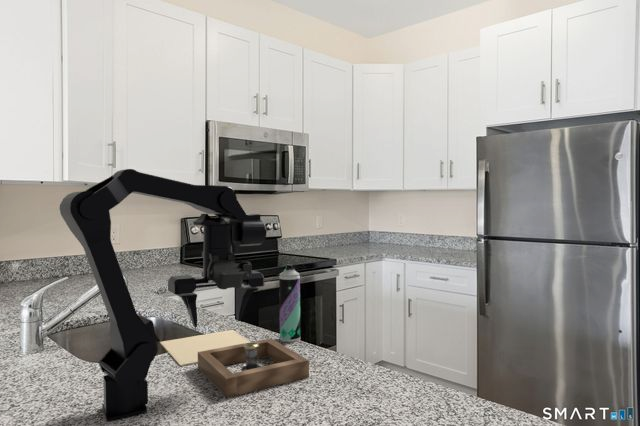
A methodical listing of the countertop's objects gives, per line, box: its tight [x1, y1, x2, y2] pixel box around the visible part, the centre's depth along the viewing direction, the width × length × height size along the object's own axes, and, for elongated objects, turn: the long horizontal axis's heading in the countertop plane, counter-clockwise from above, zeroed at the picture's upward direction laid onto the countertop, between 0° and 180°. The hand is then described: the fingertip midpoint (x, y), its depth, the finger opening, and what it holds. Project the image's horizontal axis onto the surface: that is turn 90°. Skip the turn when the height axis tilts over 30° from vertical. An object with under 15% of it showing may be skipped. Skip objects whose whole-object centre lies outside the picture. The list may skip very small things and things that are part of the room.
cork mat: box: [159, 329, 252, 367], centre depth 114 cm, size 20×20×1 cm
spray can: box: [278, 264, 301, 343], centre depth 119 cm, size 6×6×20 cm
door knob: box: [240, 341, 262, 372], centre depth 96 cm, size 4×4×6 cm
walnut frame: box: [197, 338, 310, 398], centre depth 96 cm, size 18×18×4 cm
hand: (217, 323), depth 91 cm, fingers open, 9 cm apart
